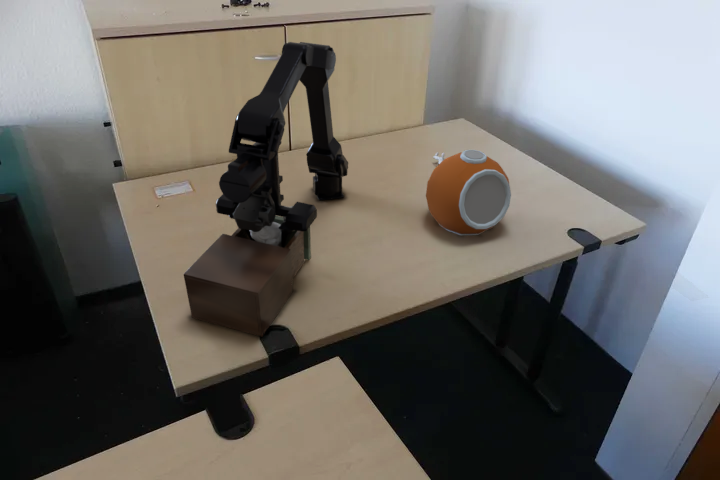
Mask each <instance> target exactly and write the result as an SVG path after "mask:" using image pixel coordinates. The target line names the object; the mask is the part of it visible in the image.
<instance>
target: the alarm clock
mask: <svg viewBox="0 0 720 480" xmlns="http://www.w3.org/2000/svg"><path fill="white" fill-rule="evenodd" d="M511 197H512V192H511V186H510V179H509V177H508V176H507V173H506V172H505V171H504V169H503V167H502V166H501V165H500V163H499V162H498V161H496V160H494V159H493V158H491V157H490V156H487V155H486V153H484V152H483V151H480V150H478V149H477V150H476V149H466V150H463V151H462V152H458V153H455V154H453V155H451V156H447V157H446V158H444V160H443V161H442V162H441V163H440V164H439V163H438V165H437V166H436V167H434V169H433V170H432V172H431V174H430V177H429V178H428V180H427V182H426V191H425V198H426V203H427V208H428V211H429V213H430V214H431V216H432V217H433V219H434V220H435V221H436V223H437V224H438V225H439V226H440V227H442V228H443V229H444V230H446V231H447V232H450V233H452V234H455V235H458V236H478V235H481V234H482V233H484V232H486V231H488V230H490V229H493V228H494V227H495V226H497V224H498V223H499V222H500V221H502V219H503V218H504V217H505V216H506V214H507V212H508V210H509V208H510V204H511Z"/></svg>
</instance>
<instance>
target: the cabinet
mask: <svg viewBox="0 0 720 480" xmlns="http://www.w3.org/2000/svg"><path fill="white" fill-rule="evenodd" d="M231 235H232V234H231ZM231 235H230V234H225V233H222V234H221V235H219V236H218V237H217V238H216V239H215V241H214V242H213V243H212V244H211V245H210V246H209V247H208V248H207V249H206V250H205V251H203V253H202V254H201V255H200V257H198V258H197V259H196V260H195V261H194V262H193V264H192V265H190V266H189V267H188V268H187V270H186V271H185V272H184V273H183V279H184V285H185V289H186V295H187V300H188V305H189V310H190V315H191V318H192V319H195V320H200V321H203V322H205V323H206V322H207V323H210V324H213V325H217V326H221V327H225V328H229V329H232V330H236V331H239V332H243V333H247V334H249V335H254V336H257V337H261V338H262V337H264V335H265V334H266V332H267V331H268V329H269V328H270V326H271V325H272V323H274V320H275V319H276V317H277V316H278V314H279V313H280V311H281V310H282V308H283V307H284V306H285V304H286V303H287V301H288V300H289V298H290V297H291V295H292V294H293V292H294V286H293V279H292V262H291V249H288V248H283V247H279V246H275V245H270V244H266V243H261V242H257V241H253V240H248V239H244V238H240V237H235V236H231Z"/></svg>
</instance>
